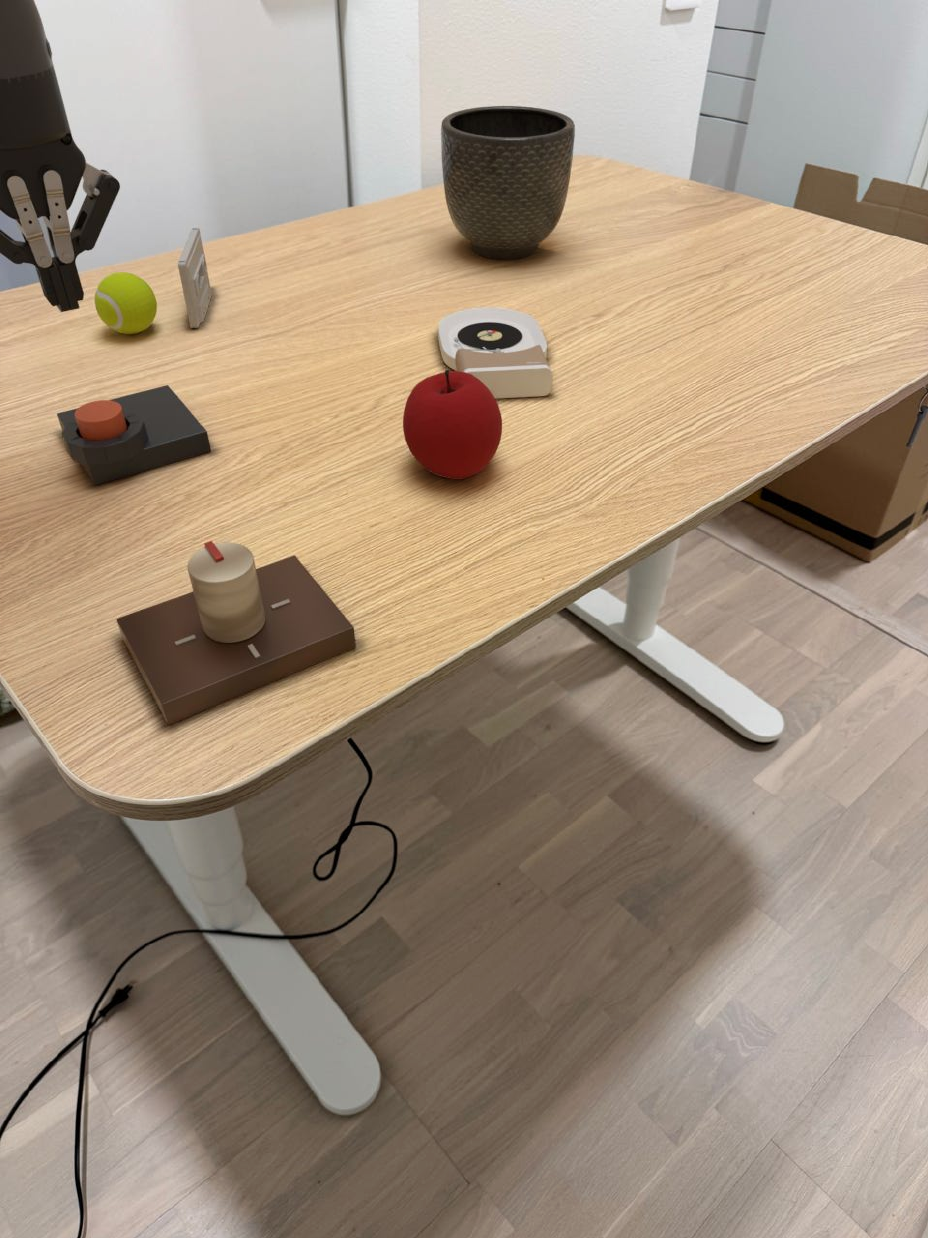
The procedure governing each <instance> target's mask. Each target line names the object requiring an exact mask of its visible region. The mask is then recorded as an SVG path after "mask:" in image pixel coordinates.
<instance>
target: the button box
mask: <svg viewBox="0 0 928 1238" xmlns="http://www.w3.org/2000/svg"><path fill="white" fill-rule="evenodd" d="M109 400H110V401H115V402H117V403H119V404H120V405H121V407H122V411H123V414H124V418H125V421H126V425H127V430H126V431H125V432H123V433H122V434H120V435H119V436H117V437H114V438H110V439H107V440H94V441H90V440H86V439H83V438H82V436H81V434H80V431H79V428H78V425H77V421H76V418H75V412H76V410H77V409H78V408H79V407H77V408H73V409H68V410H65V411H61V412H58V413H56V416H57V420H58V422H59V426H60V428H61V431H62V432H61V438H62V439H63V440H62V441H63V443H64V446H65V448H66V452H67V453H68V455H69V457H70V458H71V460H72V461H74V462H78V463H81V464H80V465H82V467H83V469H84V470H85V472H86V474H87V475H88V477H89V478H90V481H91V482H92V483H93V485H94V486H98V485H101V484H105V483H109V482H112V481H115V480H118V479H122V478H125V477H129V476H132V475H135V474H139V473H143V472H146V471H149V470H152V469H156V468H160V467H163V466H166V465H169V464H173V463H176V462H179V461H183V460H186V459H189V458H193V457H196V456H199V455H203V454H207V453H209V452H212V449H211V444H210V443H211V442H210V440H209V435H208V434H209V433H208V430H207V429H206V428H205V427H204V426H203V425H202V423H200V421H199V420H198V419H197V418H196V416H195V415H194V414H193V413H192V412H191V410H190V409H189V408H188V407H187V406H186V404H184V402H183V401H182V399H180V398H179V396H178V395H177V394H176V393H175V391H173V389H172V388H171V387H170V385H168V384H165V385H162V386H161V385H160V386H158V387H154V388H150V389H146V390H142V391H139V392H135V393H131V394H127V395H123V396H119V397H116V398H112V399H109Z"/></svg>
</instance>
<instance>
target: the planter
mask: <svg viewBox="0 0 928 1238" xmlns="http://www.w3.org/2000/svg"><path fill="white" fill-rule="evenodd" d="M575 138H576V124H575V122H574V120H573V119H572V118H571V117H570V116H568V115H566V114H563V113H561V112H558V111H556V110H555V111H554V110H551V109H545V108H541V107H540V108H539V107H533V106H521V105H491V106H480V107H471V108H466V109H462V110H461V109H460V110H458V111H454V112H452V113H450V114H448V115H446V116H445V117H444V118H443V119H442V120H441V125H440V141H441V142H440V145H441V147H440V148H441V149H440V150H441V151H440V153H441V155H440V156H441V157H440V159H441V170H442V181H443V190H444V197H445V202H446V207H447V211H448V214H449V217H450V219H451V221H452V224H453V226H454V227H455V229H456V230H457V232H458V233H459V234H460V235H461V236H462V237H463V238H464V239H465V241H468V242H469V245H470V248H471V249H472V250H473V252H474V253H476V254H477V255H479V256H481V257H484V258H487V259H492V260H500V261H501V260H504V261H505V260H507V261H508V260H510V261H511V260H519V259H523V258H526V257H527V258H528V257H529V256H531V255H533V254H534V253H535V252H536V250H537V249H538V247H539V245H540V244H541V243H542V242H543V241H544V240H545V239H547V238H548V237H549V236H550V235H551V234H552V232H553V231H554V230H555V228H556V227H557V226H558V224H559V223H560V221H561V217H562V215H563V212H564V209H565V206H566V201H567V198H568V192H569V187H570V181H571V180H570V179H571V173H572V167H573V161H574V160H573V159H574V147H575Z"/></svg>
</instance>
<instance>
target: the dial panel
mask: <svg viewBox="0 0 928 1238" xmlns="http://www.w3.org/2000/svg"><path fill="white" fill-rule="evenodd" d="M256 571H257V577H258V582H259V587H260V592H261V597H262V603H263V608H264V613H265V623H264V625H263V627H262V629H261V630H260V631H259V632H258V633H257V634H255V635H254V636H252V637H250V638H248V639H246V640H243V641H240V642H234V643H223V642H218V641H215V640H212V639H211V638H209V637H208V636H207V635H206V634H205V633H204V631H203V627H202V623H201V619H200V616H199V612H198V608H197V604H196V600H195V596H194V592H193V591H190V592H187V593H184V594H182V595H180V596H177V597H174V598H171V599H168V600H165V601H163V602H159V603H157V604H154V605H151V606H149V607H146V608H142V609H140V610H138V611H134V612H132V613H129V614H126V615H124V616H120V617H118V618H116V620H115V621H116V624H117V625H118V630H119V632H120V635H121V638H122V640H123V642H124V644H125V646H126V647H127V648H126V649H127V650H128V652H129V654H130V655H131V657H132V659H133V661H134V663H135V665H136V667H137V669H138V671H139V672H140V675H141V676H142V678H143V680H144V683H145V684H146V686H147V688H148V690H149V692H150V693H151V695H152V698H153V699H154V701H155V703H156V705H157V707H158V708H159V711H160V712H161V715H162V716H163V719H164V720H165V722H166V724H167V725H168V726H170V725H172V724H174V723H177V722H179V721H182V720H185V719H186V718H187V719H188V718H189V717H191V716H194V715H197V714H199V713H201V712H204V711H206V710H208V709H211V708H213V707H216V706H218V705H221V704H223V703H225V702H227V701H228V702H229V701H230V700H232V699H235V698H237V697H239V696H242V695H245V694H247V693H250V692H251V691H254V690H256V689H259V688H261V687H264V686H266V685H269V684H272V683H274V682H276V681H278V680H281V679H283V678H286V677H288V676H290V675H293V674H295V673H297V672H300V671H302V670H305V669H307V668H310V667H312V666H315V665H317V664H319V663H322V662H324V661H327V660H329V659H332V658H333V657H336V656H338V655H342V654H343V653H346V652H349V651H350V650H353V649H355V648H356V647H357V645H356V634H355V626H353V624H352V623H351V622H350V620H349V619H348V617H346V616H345V614H344V613H343V612H342V611H341V609H340V608H338V605H336V603H335V602H334V601H333V600H332V598H330V596H329V595H328V594H327V593H326V591H325V590H324V589H323V588H322V586H321V585H320V584H319V583H318V582H317V580H316V579H315V578H314V577H313V575H312V574H311V573H310V572H309V571H308V570H307V568H306V567H305V565H304V564H303V563H302V562H301V560H300V559H298V557H297V556H296V554H295V555H291V556H288V557H286V558H282V559H280V560H277V561H274V562H271V563H268V564H266V565H263V566H260V567H256Z"/></svg>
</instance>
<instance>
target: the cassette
mask: <svg viewBox="0 0 928 1238" xmlns="http://www.w3.org/2000/svg"><path fill="white" fill-rule="evenodd" d="M177 267H178V274H179V278H180V283H181V287H182V292H183V293H182V294H183V297H184V302H185V306H186V307H185V308H186V312H187V317H188V322H189V326H190V329H199V328H200V324H201V323H204V321H205V318H206V316H207V315H206V314H207V311H208V308H209V305H210V302H211V299H212V296H213V295H212V291H211V289H212V288H211V283H210V278H209V272H208V266H207V261H206V255H205V251H204V246H203V241H202V235H201V229H200V227H195V228H193V227H192V228H191V230H190V231H189V235H188V237H187V239H186V242H185V244H184V247H183V249H182V251H181V253H180V257H179V258H178V260H177Z"/></svg>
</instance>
